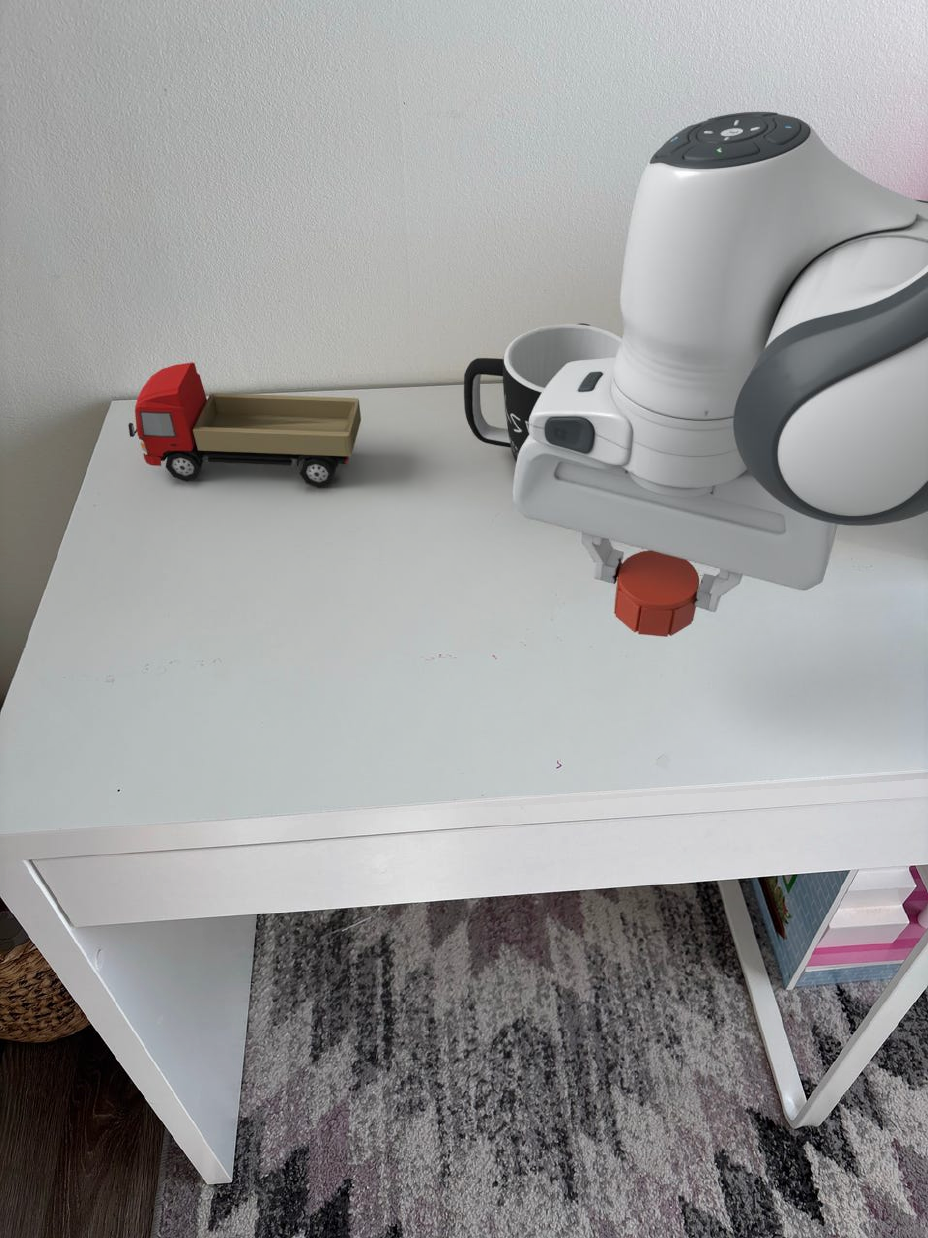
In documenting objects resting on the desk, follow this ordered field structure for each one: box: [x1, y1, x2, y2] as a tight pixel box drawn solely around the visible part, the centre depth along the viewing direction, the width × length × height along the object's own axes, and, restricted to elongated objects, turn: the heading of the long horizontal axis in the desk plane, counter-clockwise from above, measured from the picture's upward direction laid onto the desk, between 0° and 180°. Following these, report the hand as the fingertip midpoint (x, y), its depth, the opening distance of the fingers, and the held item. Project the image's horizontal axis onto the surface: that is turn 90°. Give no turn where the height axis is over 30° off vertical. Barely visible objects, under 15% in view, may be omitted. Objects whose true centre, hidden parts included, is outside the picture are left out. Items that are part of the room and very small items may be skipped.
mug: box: [463, 322, 623, 464], centre depth 90 cm, size 16×16×12 cm
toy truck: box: [128, 361, 362, 489], centre depth 91 cm, size 7×21×10 cm, turn 85°
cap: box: [613, 550, 700, 638], centre depth 66 cm, size 5×5×3 cm
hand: (656, 589), depth 66 cm, fingers closed on cap, 5 cm apart
